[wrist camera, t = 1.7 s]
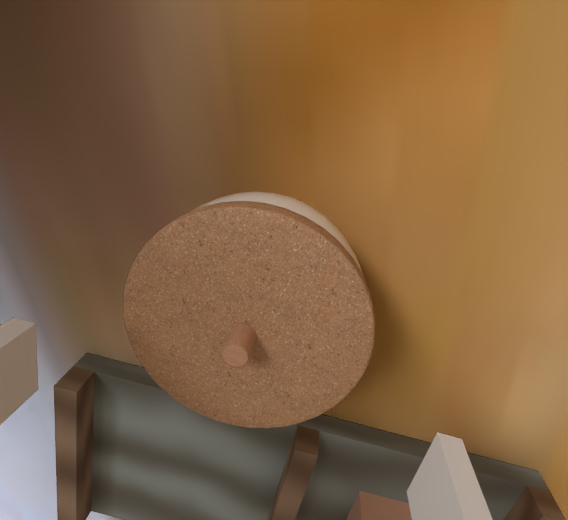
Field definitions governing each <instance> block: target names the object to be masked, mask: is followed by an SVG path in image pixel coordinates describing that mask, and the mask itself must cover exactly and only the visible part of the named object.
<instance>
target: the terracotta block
mask: <svg viewBox="0 0 568 520" xmlns="http://www.w3.org/2000/svg"><path fill="white" fill-rule="evenodd" d="M346 520H412V517H411V512H410V507H409V504H408V503H405V502H401V501H397V500H393V499H390V498H386V497H382V496H378V495H375V494H371V493H367V492H363V491H360V490H359V493H358V495H357V497H356V499H355V501H354V504H353V506H352V508H351V510H350V512H349V515H348V517H347V519H346Z"/></svg>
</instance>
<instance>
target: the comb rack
mask: <svg viewBox="0 0 568 520" xmlns="http://www.w3.org/2000/svg"><path fill="white" fill-rule="evenodd" d="M54 407H55V442H56V477H57V512H58V520H86V518H87V517H88V515H89V513H90V512H91V511H94V512H98V513H101V514H105V515H109V516H112V517H116V518H120V519H123V520H346V519H347V517H348V515H349V512H350V510H351V508H352V506H353V504H354V501H355V499H356V497H357V495H358V493H359V490H360V491H363V492H367V493H371V494H375V495H378V496H382V497H386V498H390V499H393V500H397V501H401V502H405V503H408V504H409V501H408V496H407V490H408V488H409V486H410V484H411V482H412V480H413V478H414V476H415V474H416V473H417V471H418V469H419V467H420V465H421V463H422V461H423V459H424V457H425V455H426V453H427V451H428V449H429V448H430V446H431V444H432V443H429V442H425V441H421V440H417V439H413V438H410V437H406V436H402V435H398V434H394V433H391V432H387V431H383V430H379V429H375V428H371V427H368V426H364V425H360V424H356V423H352V422H349V421H345V420H341V419H337V418H333V417H330V416H326V415H322V414H320V415H319V416H317V417H314V418H312V419H309V420H306V421H303V422H301V423H297V424H293V425H288V426H284V427H273V428H249V427H242V426H236V425H231V424H227V423H223V422H219V421H216V420H213V419H211V418H208V417H206V416H203V415H201V414H199V413H197V412H195V411H193V410H191V409H189V408H187V407H186V406H184V405H182V404H181V403H180V402H178V401H177V400H176V399H174V398H173V397H171V396H170V395H169V394H168V393H167V392H165V391H164V390H163V389H162V388H161V387H160V386H159V385H158V384H157V383H156V382H155V381H154V380H153V379H152V377H151V376H150V375H149V374H148V373H147V371H146V370H145V368H143V367H139V366H135V365H132V364H128V363H124V362H120V361H116V360H112V359H109V358H105V357H101V356H97V355H93V354H90V353H86V354H85V355H84V356H83V357H82V358H81V359H80V360H79V361H78V362H77V363H76V364H75V365H74V366H73V367H72V368H71V369H70V370H69V371H68V372H67V373H66V374H65V375H64V376H63V377H62V378H61V379H60V380H59V381H58V382H57V383H56V384H55V385H54ZM467 454H468V457H469V459H470V462H471V464H472V467H473V470H474V472H475V475H476V478H477V480H478V483H479V485H480V488H481V491H482V493H483V496H484V498H485V501H486V504H487V506H488V509H489V511H490V514H491V517H492V519H493V520H566V519H565V517H564V516H563V514H562V512H561V510H560V509H559V507H558V505H557V503H556V502H555V500H554V498H553V496H552V494H551V493H550V491H549V489H548V487H547V486H546V484H545V482H544V480H543V478H542V477H541V475H540V473H539V471H535V470H531V469H528V468H524V467H520V466H516V465H512V464H509V463H505V462H501V461H497V460H493V459H490V458H486V457H482V456H478V455H474V454H471V453H467Z"/></svg>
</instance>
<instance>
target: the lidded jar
mask: <svg viewBox="0 0 568 520" xmlns="http://www.w3.org/2000/svg"><path fill="white" fill-rule="evenodd" d="M123 311H124V320H125V326H126V330H127V333H128V336H129V340H130V342H131V345H132V347H133V349H134V352H135V354H136V356H137V358H138V359H139V361H140V362H141V364H142V365H143V367H144V368H145V370H146V371H147V373H148V374H149V375H150V376H151V377H152V379H153V380H154V381H155V382H156V383H157V384H158V385H159V386H160V387H161V388H162V389H163V390H164V391H165V392H167V393H168V394H169V395H170V396H171V397H173V398H174V399H176V400H177V401H178V402H180V403H181V404H182V405H184V406H186V407H187V408H189V409H191V410H193V411H195V412H197V413H199V414H201V415H203V416H206V417H208V418H211V419H213V420H216V421H219V422H223V423H227V424H231V425H236V426H242V427H249V428H273V427H284V426H288V425H293V424H297V423H301V422H303V421H306V420H309V419H312V418H314V417H317V416H319V415H320V414H322V413H324V412H326V411H327V410H329V409H331V408H332V407H334V406H335V405H336V404H337V403H339V402H340V401H341V400H343V399H344V398H345V397H346V396H347V395H348V394H349V393H350V392H351V391H352V389H353V388H354V387H355V386H356V385H357V384H358V382H359V380H360V379H361V377H362V376H363V374H364V372H365V371H366V369H367V366H368V363H369V361H370V358H371V356H372V352H373V347H374V342H375V315H374V310H373V304H372V299H371V294H370V292H369V289H368V286H367V284H366V281H365V278H364V276H363V273H362V270H361V267H360V265H359V262H358V259H357V257H356V255H355V254H354V252H353V250H352V248H351V247H350V245H349V243H348V241H347V240H346V238H345V237H344V235H343V234H342V233H341V232H340V231H339V229H338V228H337V227H336V226H335V225H334V224H333V223H332V222H331V221H330V220H329V219H327V218H326V217H325V216H324V215H323V214H322V213H320V212H319V211H317V210H316V209H314V208H312V207H311V206H309V205H308V204H306V203H304V202H301V201H299V200H297V199H294V198H292V197H288V196H285V195H281V194H277V193H267V192H242V193H237V194H232V195H228V196H224V197H220V198H217V199H215V200H213V201H210V202H208V203H205V204H203V205H201V206H199V207H198V208H196V209H194V210H193V211H190V212H188V213H186V214H183V215H181V216H180V217H178V218H177V219H175V220H174V221H172V222H170V223H169V224H167V225H166V226H164V227H163V228H162V229H160V230H159V231H158V232H157V233H156V234H155V235H154V236H153V237H152V238H151V239H150V240H148V241H147V242H146V244H145V245H144V246H143V248H142V249H141V251H140V252H139V253H138V255H137V256H136V258H135V260H134V262H133V264H132V266H131V268H130V270H129V273H128V276H127V280H126V284H125V288H124V299H123Z"/></svg>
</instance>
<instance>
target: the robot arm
mask: <svg viewBox="0 0 568 520" xmlns="http://www.w3.org/2000/svg"><path fill="white" fill-rule="evenodd" d="M37 390H38V369H37V344H36V323H32V322H29V321H25V320H21V319H18V318H14V317H13V318H11V319H10V320H8V321H7V322H5V323H3V324H2V325H0V425H1V424H2V423H3V422H4V421H5V420H6V419H7V418H8V417H9V416H10V415H11V414H12V413H13V412H15V411H16V410H17V409H18V408H19V407H20V406H21V405H22V404H23V403H24V402H25V401H26V400H27V399H28V398H29V397H31V396H32V395H33V394H34V393H35V392H36V391H37ZM407 496H408V501H409V507H410V512H411V517H412V520H493V519H492V517H491V514H490V511H489V509H488V506H487V504H486V501H485V498H484V496H483V493H482V491H481V488H480V485H479V483H478V480H477V478H476V475H475V472H474V470H473V467H472V464H471V462H470V459H469V457H468V454H467V451H466V449H465V446H464V444H463V441H462V439H460V438H456V437H453V436H449V435H445V434H442V433H438V432H437V434H436V436H435V438H434V440H433V442H432V444H431V446H430V448H429V449H428V451H427V453H426V455H425V457H424V459H423V461H422V463H421V465H420V467H419V469H418V471H417V473H416V474H415V476H414V478H413V480H412V482H411V484H410V486H409V488H408V490H407Z"/></svg>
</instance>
